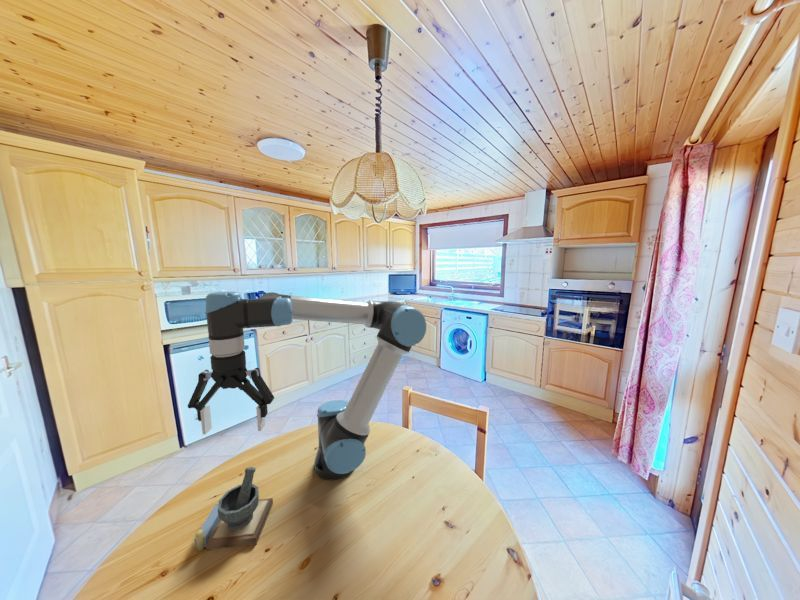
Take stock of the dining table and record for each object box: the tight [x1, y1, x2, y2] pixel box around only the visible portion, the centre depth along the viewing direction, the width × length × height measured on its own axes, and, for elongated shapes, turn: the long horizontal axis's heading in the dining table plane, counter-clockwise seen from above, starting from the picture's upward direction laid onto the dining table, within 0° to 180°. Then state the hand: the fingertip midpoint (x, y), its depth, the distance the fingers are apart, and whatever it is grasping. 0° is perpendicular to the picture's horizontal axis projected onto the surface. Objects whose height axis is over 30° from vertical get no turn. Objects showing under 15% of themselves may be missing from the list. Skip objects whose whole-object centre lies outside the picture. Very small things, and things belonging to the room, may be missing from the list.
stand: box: [206, 497, 274, 551], centre depth 75 cm, size 12×12×2 cm
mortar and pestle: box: [218, 466, 260, 531], centre depth 74 cm, size 11×9×12 cm
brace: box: [194, 503, 220, 552], centre depth 73 cm, size 11×2×4 cm, turn 9°
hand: (234, 429), depth 71 cm, fingers open, 13 cm apart
